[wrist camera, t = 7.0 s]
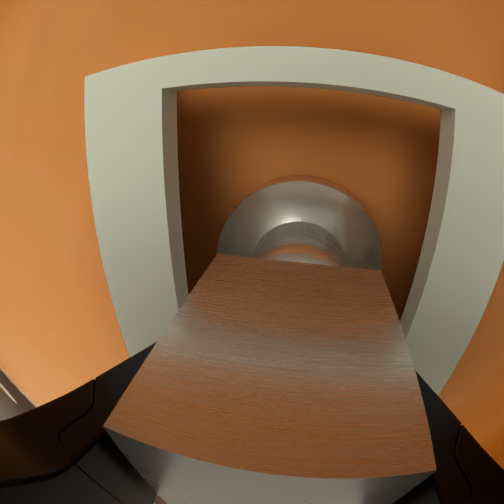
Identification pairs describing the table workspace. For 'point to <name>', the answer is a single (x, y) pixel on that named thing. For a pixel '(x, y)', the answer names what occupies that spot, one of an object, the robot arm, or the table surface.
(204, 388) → the peg
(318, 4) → the table surface
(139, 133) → the keyhole plate
